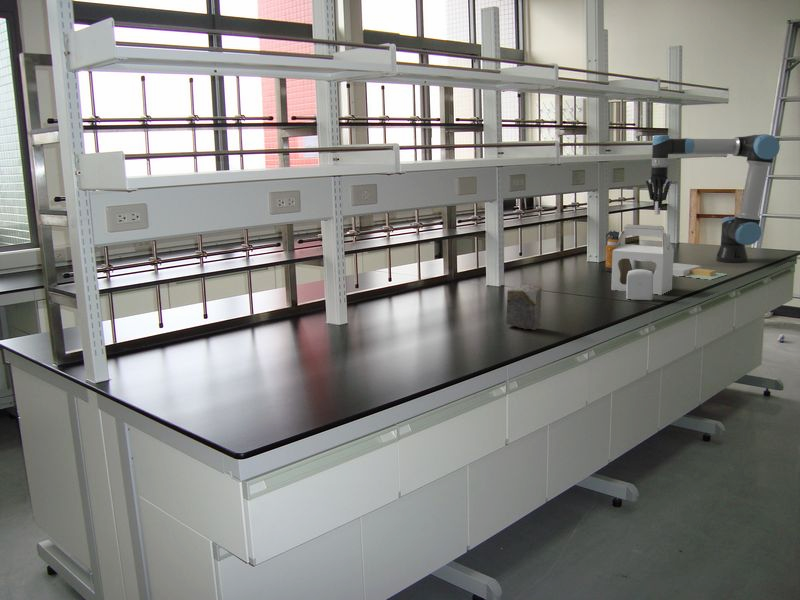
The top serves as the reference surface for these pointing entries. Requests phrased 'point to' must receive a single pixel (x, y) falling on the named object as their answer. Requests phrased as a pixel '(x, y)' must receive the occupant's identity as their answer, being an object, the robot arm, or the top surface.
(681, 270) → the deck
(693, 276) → the mat
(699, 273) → the light orange flat block
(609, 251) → the canister
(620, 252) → the gable box
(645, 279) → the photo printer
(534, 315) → the geological specimen
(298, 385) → the top surface
